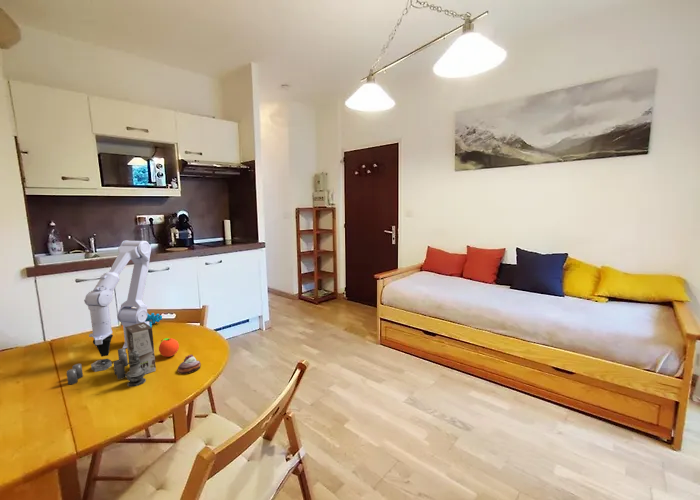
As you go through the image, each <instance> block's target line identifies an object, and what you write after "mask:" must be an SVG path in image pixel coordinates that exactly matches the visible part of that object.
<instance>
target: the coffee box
mask: <svg viewBox="0 0 700 500" xmlns="http://www.w3.org/2000/svg"><path fill="white" fill-rule="evenodd" d="M125 332H126V341H127V348H126V349H127V358H129V353H130V352H132V349H134V351H138V353H139V359H140V360H141V361H140V367H141V368H144V369H146V372H145V375H147V374H150V373H152V372H156V370H157V368H156V357H155V355H156V354H155V346H154V345H155V344H154V335H153V326H152V327H150V326H149V325H147V324H146V323H145V322H143V323H138V324H135V325H132V326H127V327H125Z"/></svg>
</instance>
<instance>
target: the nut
mask: <svg viewBox="0 0 700 500" xmlns="http://www.w3.org/2000/svg"><path fill="white" fill-rule="evenodd" d="M112 364H113V362H112V360H111V359H109V358H104V359H98V360H96V361H94V362H93V363H91V364H90V368H91V370H92V371H93V372H95V373H97V372H101V371H106V370H107V369H109V368H111V367H112V366H113V365H112Z"/></svg>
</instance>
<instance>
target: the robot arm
mask: <svg viewBox="0 0 700 500" xmlns="http://www.w3.org/2000/svg"><path fill="white" fill-rule="evenodd" d="M117 250H118V251H117V252H118V254H117V256H116V258H115V259H114V262H113V264H112V265H111V268H110V269H109V271H108V272H104V273H103V274H101V276H100V279H99V281H98V282H96V283H97V284H96V285H95V287H94V288H93V290H91V291H88V293H86V295H85V297H84V298H85V299H84V300H83V301H84V304H85V305H86V307H88V310H89V314H90V320H91V322H90V323H91V329H92V331H91V332H92V333H91V332H90V333H89V334H88V338H93V340H92V343H93V345H94V346H95V347H96V348H97V350H98V352H99V355H100V356H101V357H102V358H103V357H108V356H109V353H110V347H111V342H112V339H113V337H114V335H113V330H112V324H111V323H112V322H111V314H110V306H109V305H110V304H111V302H113V294H114V290H115V288H116V287H117V285H118V284H119V282H120V280H121V279H120V274H121V273H122V271H124V269H125V267H126V266H127V265H128V263H129V262H130V261H131V262H132V263H133V269H132V273H131V278H130V283H129V288H128V289H129V290H128V295H127V299H126V301H124V302H123V303H121V305H120V307H119V310H118V311H117V314H116V318H117V321H118V322H119V323H120V324H121V326H123V327H122V329H123V336H124V344H123V346H122V348H125V349H127V341H126V332H125V327H127V326H132V325H135V324H138V323H143V322H145V320H146V318H147V313H148V305H147V304H146V303H145V302H144V301H143V300H144V299H143V298H144V293H145V288H146V283H147V277H148V273H149V272H148V271H149V265H150V259H151V258H150V257H151V252H152V246H151V244H150V243H149V242H148V241H146V240H127V239H126V240H125V239H124V240H123V241H122V242H121V243H120V246H119V247H118V249H117ZM145 323H146V324H147V325H149V326H150V324H149V321H146V322H145Z"/></svg>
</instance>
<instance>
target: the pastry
mask: <svg viewBox="0 0 700 500" xmlns="http://www.w3.org/2000/svg"><path fill="white" fill-rule="evenodd" d="M201 365H202V363H201V361H200V360H197V359H196V357H195V356H194V355H193V354H189V355H187V356H185V357H184V359H183V361H182V362H181V363H180V364H179V366H178V367H177V373H178V374H180V375H183V374H184V375H185V374H186V373H188V374H190V373H194V372H196V371H198V370H200V369H201V367H202V366H201Z"/></svg>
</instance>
